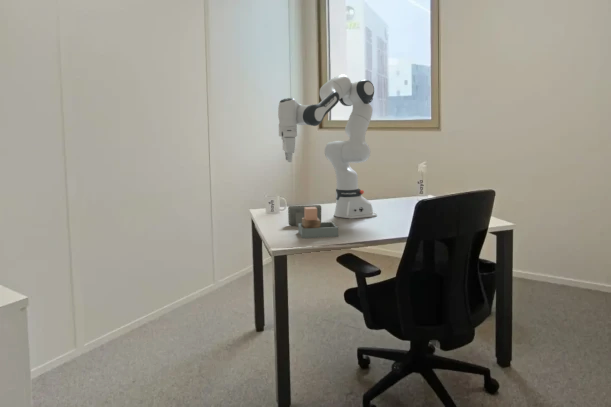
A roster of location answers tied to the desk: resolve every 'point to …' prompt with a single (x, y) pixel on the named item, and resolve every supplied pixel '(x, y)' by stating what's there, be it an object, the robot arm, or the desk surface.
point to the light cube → (310, 213)
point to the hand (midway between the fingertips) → (288, 161)
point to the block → (310, 223)
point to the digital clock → (300, 213)
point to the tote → (319, 230)
